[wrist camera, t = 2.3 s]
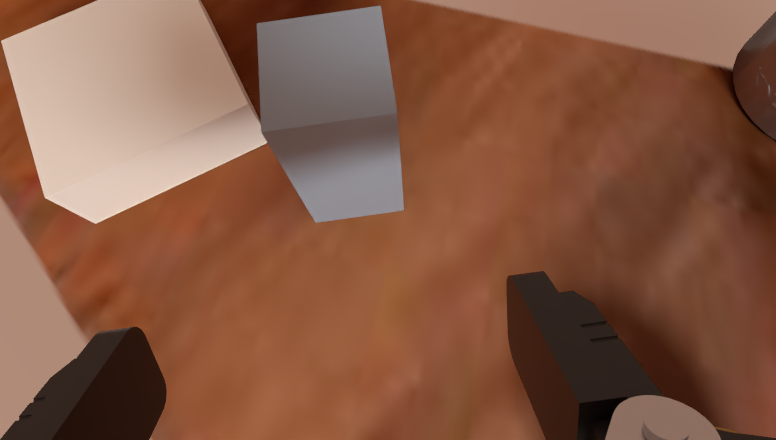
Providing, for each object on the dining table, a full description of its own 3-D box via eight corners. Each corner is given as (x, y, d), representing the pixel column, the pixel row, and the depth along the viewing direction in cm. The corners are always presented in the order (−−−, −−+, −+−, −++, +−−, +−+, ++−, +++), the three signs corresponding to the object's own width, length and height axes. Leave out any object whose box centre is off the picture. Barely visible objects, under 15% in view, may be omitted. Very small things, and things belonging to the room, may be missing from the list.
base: (208, 14, 32) (181, -35, 28) (270, 141, 29) (248, 104, 25) (51, 83, 31) (1, 40, 27) (95, 223, 27) (44, 197, 24)
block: (392, 132, 28) (380, 5, 19) (403, 210, 27) (397, 113, 17) (309, 144, 28) (256, 23, 19) (315, 222, 27) (261, 132, 17)
